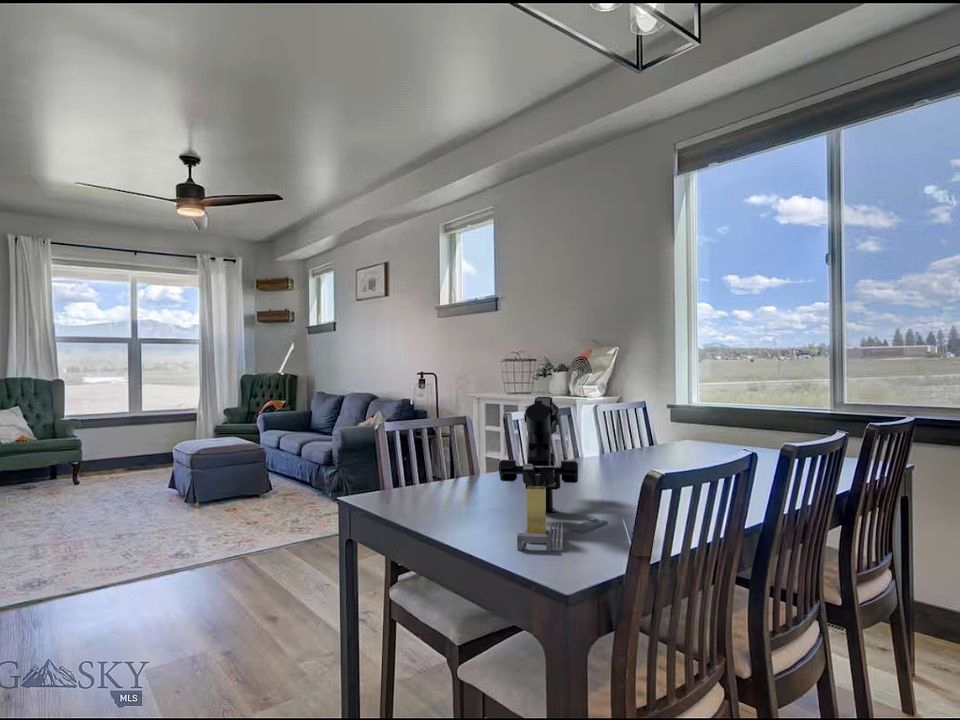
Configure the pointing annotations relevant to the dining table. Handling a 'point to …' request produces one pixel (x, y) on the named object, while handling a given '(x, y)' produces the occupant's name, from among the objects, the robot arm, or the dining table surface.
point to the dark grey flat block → (588, 525)
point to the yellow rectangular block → (536, 510)
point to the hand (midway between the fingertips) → (537, 502)
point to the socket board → (543, 539)
